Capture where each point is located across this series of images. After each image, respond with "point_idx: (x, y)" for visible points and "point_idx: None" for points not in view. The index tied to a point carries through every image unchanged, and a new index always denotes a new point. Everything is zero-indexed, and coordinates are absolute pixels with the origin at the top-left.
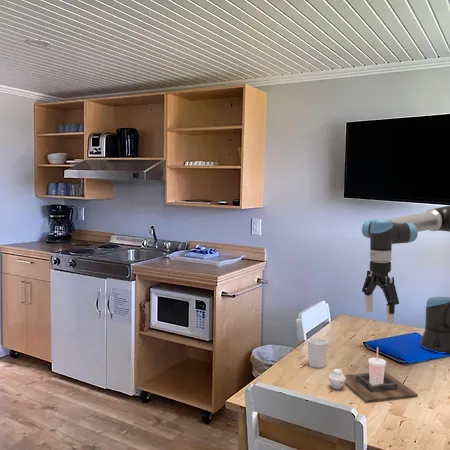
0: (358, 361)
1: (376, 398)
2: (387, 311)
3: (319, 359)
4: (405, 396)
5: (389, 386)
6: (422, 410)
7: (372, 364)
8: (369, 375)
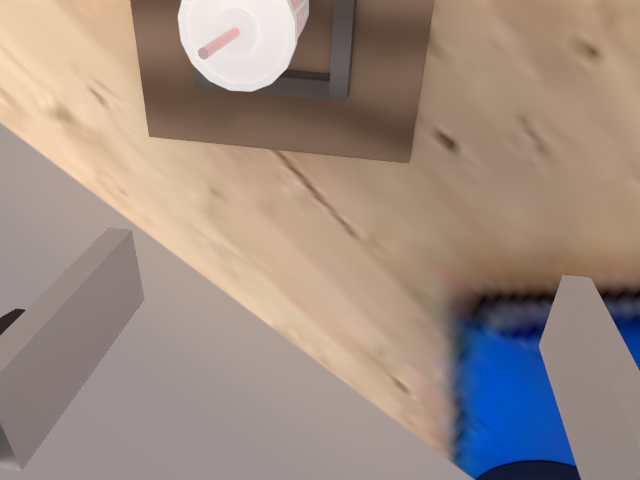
0: (613, 129)
1: None
2: (25, 311)
3: None
4: (142, 72)
5: None
6: (37, 64)
7: None
8: None
